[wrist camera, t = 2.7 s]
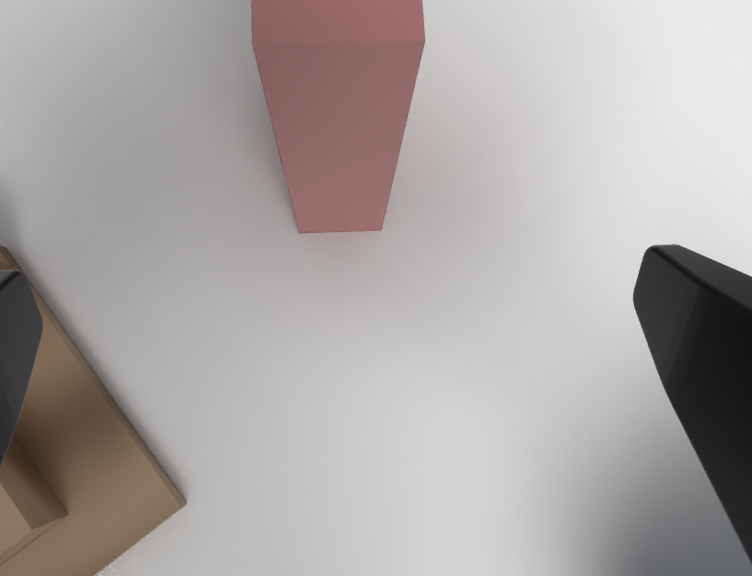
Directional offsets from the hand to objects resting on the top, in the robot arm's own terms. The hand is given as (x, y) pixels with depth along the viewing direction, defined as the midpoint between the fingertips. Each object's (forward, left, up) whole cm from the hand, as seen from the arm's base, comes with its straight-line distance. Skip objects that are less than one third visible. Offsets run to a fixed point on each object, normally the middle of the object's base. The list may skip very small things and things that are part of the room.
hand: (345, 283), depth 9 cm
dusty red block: (+6, -4, -13) cm, 15 cm away
